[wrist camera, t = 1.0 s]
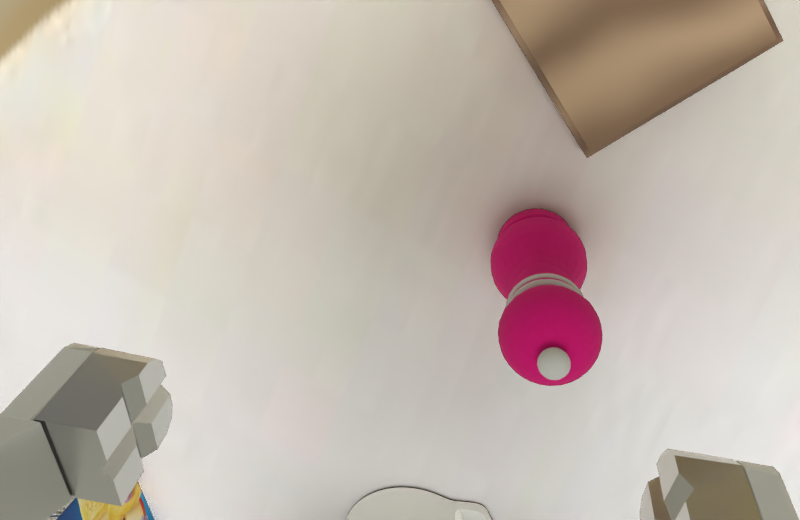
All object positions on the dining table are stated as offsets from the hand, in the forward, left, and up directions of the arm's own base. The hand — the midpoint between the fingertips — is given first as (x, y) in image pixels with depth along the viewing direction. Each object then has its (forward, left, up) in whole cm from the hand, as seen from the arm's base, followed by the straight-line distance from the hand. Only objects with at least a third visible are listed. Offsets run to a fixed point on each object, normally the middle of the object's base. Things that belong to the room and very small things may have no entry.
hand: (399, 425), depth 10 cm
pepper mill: (-12, +2, -41) cm, 43 cm away
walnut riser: (0, -12, -41) cm, 42 cm away
